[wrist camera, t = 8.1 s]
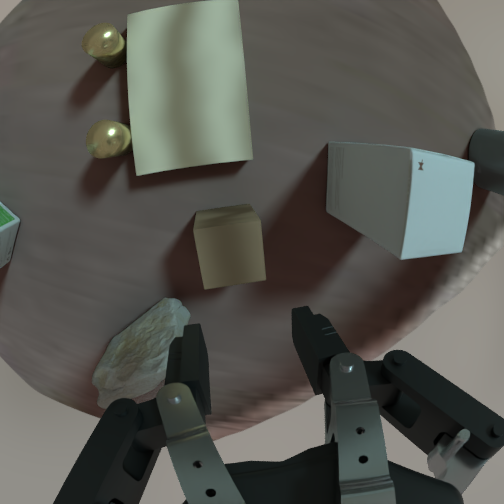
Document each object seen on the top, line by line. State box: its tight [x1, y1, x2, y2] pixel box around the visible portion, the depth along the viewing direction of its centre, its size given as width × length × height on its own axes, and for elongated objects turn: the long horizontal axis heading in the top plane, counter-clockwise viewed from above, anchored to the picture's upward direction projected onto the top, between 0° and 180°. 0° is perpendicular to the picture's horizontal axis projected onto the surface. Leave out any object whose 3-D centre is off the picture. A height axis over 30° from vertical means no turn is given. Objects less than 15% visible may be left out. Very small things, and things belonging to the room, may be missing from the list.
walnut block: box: [193, 204, 266, 289], centre depth 24 cm, size 5×5×6 cm
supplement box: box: [326, 142, 475, 260], centre depth 21 cm, size 7×7×13 cm
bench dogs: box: [82, 23, 133, 158], centre depth 18 cm, size 3×12×5 cm, turn 6°
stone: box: [92, 297, 190, 409], centre depth 25 cm, size 14×6×10 cm, turn 122°
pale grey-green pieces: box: [127, 0, 253, 176], centre depth 20 cm, size 10×16×2 cm, turn 5°
